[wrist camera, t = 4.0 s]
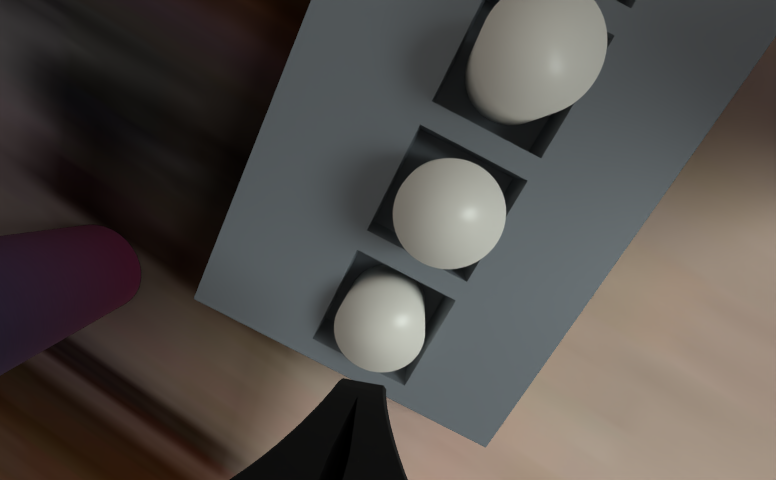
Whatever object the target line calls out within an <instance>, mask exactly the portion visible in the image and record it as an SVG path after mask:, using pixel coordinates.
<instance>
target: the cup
mask: <svg viewBox="0 0 776 480" xmlns="http://www.w3.org/2000/svg"><path fill="white" fill-rule="evenodd" d="M140 281H141V269H140V263H139V261H138V258H137V255H136V253H135V252H134V250H133V248H132V247H131V245H130V244H129V243H128V242H127V241H126V240H125V239H124V238H123V237H122V236H121V235H120V234H118V233H116V232H115V231H113V230H111V229H109V228H106V227H104V226H99V225H83V226H75V227H67V228H59V229H52V230H44V231H36V232H28V233H20V234H12V235H5V236H0V375H2V374H3V373H5V372H7V371H9V370H10V369H12V368H14V367H16V366H17V365H19V364H21V363H23V362H24V361H26V360H28V359H30V358H31V357H33V356H35V355H36V354H38V353H40V352H42V351H43V350H45V349H47V348H49V347H50V346H52V345H54V344H56V343H57V342H59V341H61V340H63V339H64V338H66V337H68V336H70V335H71V334H73V333H75V332H77V331H78V330H80V329H82V328H84V327H85V326H87V325H89V324H91V323H92V322H94V321H96V320H98V319H99V318H101V317H103V316H105V315H106V314H108V313H110V312H111V311H113V310H115V309H117V308H118V307H120V306H122V305H124V304H125V303H127V302H128V301H130V300H131V299H132V298H133V296H134V295H135V294H136V292H137V290H138V288H139V285H140Z"/></svg>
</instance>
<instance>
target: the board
mask: <svg viewBox="0 0 776 480" xmlns="http://www.w3.org/2000/svg"><path fill="white" fill-rule="evenodd" d="M499 1H500V0H311V2H310V4H309V7H308V9H307V12H306V14H305V17H304V19H303V22H302V25H301V27H300V30H299V32H298V35H297V37H296V40H295V42H294V45H293V47H292V50H291V53H290V55H289V58H288V60H287V63H286V65H285V68H284V70H283V73H282V75H281V78H280V81H279V83H278V86H277V88H276V91H275V93H274V96H273V98H272V101H271V103H270V106H269V109H268V111H267V114H266V116H265V119H264V121H263V124H262V126H261V129H260V131H259V134H258V137H257V139H256V142H255V144H254V147H253V149H252V152H251V154H250V157H249V159H248V162H247V165H246V167H245V170H244V172H243V175H242V177H241V180H240V182H239V185H238V187H237V190H236V193H235V195H234V198H233V200H232V203H231V205H230V208H229V210H228V213H227V215H226V218H225V221H224V223H223V226H222V228H221V231H220V233H219V236H218V238H217V241H216V243H215V246H214V248H213V251H212V254H211V256H210V259H209V261H208V264H207V266H206V269H205V271H204V274H203V276H202V279H201V282H200V284H199V287H198V289H197V292H196V294H195V297H194V299H195V300H197V301H199V302H201V303H203V304H205V305H207V306H209V307H211V308H213V309H215V310H217V311H219V312H221V313H223V314H225V315H227V316H229V317H230V318H232V319H234V320H236V321H238V322H240V323H242V324H244V325H246V326H248V327H250V328H252V329H254V330H256V331H258V332H260V333H262V334H264V335H266V336H268V337H270V338H272V339H274V340H276V341H278V342H280V343H282V344H283V345H285V346H287V347H289V348H291V349H293V350H295V351H297V352H299V353H301V354H303V355H305V356H307V357H309V358H311V359H313V360H315V361H317V362H319V363H321V364H323V365H325V366H327V367H329V368H331V369H333V370H334V371H336V372H338V373H340V374H342V375H344V376H346V377H348V378H350V379H352V380H355V381H361V382H367V383H373V384H379V385H384V387H385V388H386V397H387V398H389V399H391V400H393V401H395V402H397V403H399V404H401V405H403V406H405V407H407V408H409V409H411V410H413V411H415V412H417V413H419V414H421V415H423V416H425V417H427V418H429V419H431V420H433V421H435V422H437V423H438V424H440V425H442V426H444V427H446V428H448V429H450V430H452V431H454V432H456V433H458V434H460V435H462V436H464V437H466V438H468V439H470V440H472V441H474V442H476V443H478V444H480V445H482V446H484V447H486V446H487V445H488V443H489V442H490V441H491V439H492V438H493V436H494V435H495V434H496V432H497V431H498V429H499V428H500V426H501V425H502V424H503V422H504V421H505V419H506V418H507V417H508V415H509V414H510V412H511V411H512V409H513V408H514V407H515V405H516V404H517V402H518V401H519V400H520V398H521V397H522V395H523V394H524V392H525V391H526V390H527V388H528V387H529V385H530V384H531V383H532V381H533V380H534V378H535V377H536V375H537V374H538V373H539V371H540V370H541V368H542V367H543V366H544V364H545V363H546V361H547V360H548V358H549V357H550V356H551V354H552V353H553V351H554V350H555V349H556V347H557V346H558V344H559V343H560V341H561V340H562V339H563V337H564V336H565V334H566V333H567V332H568V330H569V329H570V327H571V326H572V324H573V323H574V322H575V320H576V319H577V317H578V316H579V315H580V313H581V312H582V310H583V309H584V307H585V306H586V305H587V303H588V302H589V300H590V299H591V298H592V296H593V295H594V293H595V292H596V290H597V289H598V288H599V286H600V285H601V283H602V282H603V280H604V279H605V278H606V276H607V275H608V273H609V272H610V271H611V269H612V268H613V266H614V265H615V263H616V262H617V261H618V259H619V258H620V256H621V255H622V254H623V252H624V251H625V249H626V248H627V246H628V245H629V244H630V242H631V241H632V239H633V238H634V237H635V235H636V234H637V232H638V231H639V229H640V228H641V227H642V225H643V224H644V222H645V221H646V220H647V218H648V217H649V215H650V214H651V212H652V211H653V210H654V208H655V207H656V205H657V204H658V203H659V201H660V200H661V198H662V197H663V195H664V194H665V193H666V191H667V190H668V188H669V187H670V186H671V184H672V183H673V181H674V180H675V178H676V177H677V176H678V174H679V173H680V171H681V170H682V169H683V167H684V166H685V164H686V163H687V161H688V160H689V159H690V157H691V156H692V154H693V153H694V152H695V150H696V149H697V147H698V146H699V144H700V143H701V142H702V140H703V139H704V137H705V136H706V134H707V133H708V132H709V130H710V129H711V127H712V126H713V125H714V123H715V122H716V120H717V119H718V117H719V116H720V115H721V113H722V112H723V110H724V109H725V108H726V106H727V105H728V103H729V102H730V100H731V99H732V98H733V96H734V95H735V93H736V92H737V91H738V89H739V88H740V86H741V85H742V83H743V82H744V81H745V79H746V78H747V76H748V75H749V74H750V72H751V71H752V69H753V68H754V66H755V65H756V64H757V62H758V61H759V59H760V58H761V57H762V55H763V54H764V52H765V51H766V49H767V48H768V47H769V45H770V44H771V42H772V41H773V40H774V38H775V37H776V0H594V1H595V2H596V3H597V5H598V7H599V8H600V10H601V12H602V15H603V17H604V20H605V24H606V29H607V50H606V56H605V60H604V63H603V66H602V68H601V71H600V73H599V75H598V77H597V79H596V80H595V82H594V83H593V85H592V86H591V87H590V89H589V90H588V91H587V92H586V93H585V94H584V95H583V96H582V97H581V98H580V99H579V100H577V101H576V102H575V103H573V104H572V105H570V106H569V107H567V108H565V109H563V110H561V111H558V112H556V113H553V114H550V115H547V116H544V117H542V118H539V119H536V120H533V121H530V122H527V123H524V124H520V125H502V124H498V123H495V122H492V121H490V120H488V119H487V118H485V117H484V116H482V115H481V114H480V113H479V112H478V111H477V110H476V109H475V107H474V106H473V104H472V103H471V101H470V99H469V96H468V93H467V90H466V85H465V71H466V65H467V62H468V58H469V56H470V54H471V51H472V49H473V47H474V45H475V42H476V40H477V38H478V36H479V33H480V31H481V29H482V27H483V24H484V22H485V20H486V18H487V17H488V15H489V13H490V12H491V10H492V9H493V8H494V6H495V5H496V4H497V3H498V2H499ZM442 158H456V159H463V160H467V161H470V162H472V163H475V164H477V165H479V166H480V167H482V168H483V169H485V170H486V171H487V172H488V173H489V174H490V175H491V176H492V177H493V178H494V179H495V181H496V182H497V183H498V185H499V187H500V189H501V191H502V193H503V196H504V199H505V205H506V221H505V225H504V229H503V232H502V235H501V237H500V239H499V240H498V242H497V244H496V245H495V246H494V248H493V249H492V250H491V251H490V252H489V253H488V254H487V255H486V256H485V257H483V258H482V259H480V260H479V261H477V262H475V263H473V264H471V265H469V266H466V267H462V268H458V269H439V268H434V267H431V266H428V265H426V264H423V263H421V262H420V261H418V260H416V259H415V258H414V257H412V256H411V255H410V254H409V253H408V252H407V251H406V250H405V248H404V247H403V246H402V244H401V243H400V241H399V239H398V237H397V235H396V232H395V228H394V224H393V206H394V201H395V198H396V195H397V193H398V190H399V189H400V187H401V185H402V184H403V182H404V181H405V180H406V178H407V177H408V176H409V175H410V174H411V173H412V172H413V171H414V170H415V169H416V168H418V167H419V166H420V165H422V164H424V163H426V162H429V161H431V160H435V159H442ZM379 265H388V266H390V267H392V268H394V269H395V270H397V271H399V272H401V273H403V274H405V275H407V276H409V277H411V278H413V279H415V280H417V281H418V282H419V284H420V286H421V288H422V290H423V293H424V298H425V338H424V343H423V346H422V348H421V350H420V352H419V354H418V355H417V357H416V358H415V359H414V360H413V361H412V362H411V363H409V364H408V365H406V366H405V367H403V368H401V369H398V370H395V371H391V372H372V371H368V370H365V369H363V368H360V367H358V366H357V365H355V364H353V363H352V362H351V361H349V360H348V359H347V358H346V357H345V355H344V354H343V353H342V352H341V350H340V348H339V347H338V344H337V342H336V339H335V334H334V321H335V317H336V314H337V312H338V310H339V308H340V306H341V304H342V302H343V301H344V299H345V297H346V295H347V294H348V292H349V290H350V288H351V287H352V285H353V283H354V281H355V280H356V279H357V277H358V276H359V275H360V274H361V273H363V272H364V271H366V270H368V269H369V268H372V267H375V266H379Z"/></svg>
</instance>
